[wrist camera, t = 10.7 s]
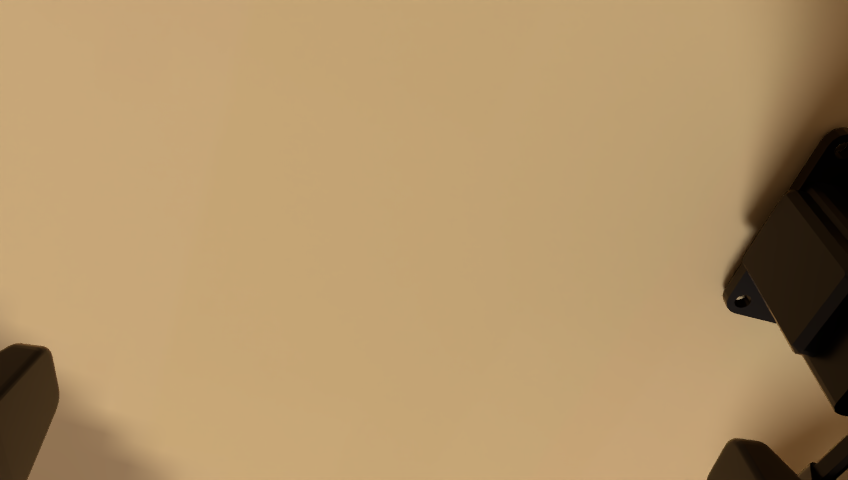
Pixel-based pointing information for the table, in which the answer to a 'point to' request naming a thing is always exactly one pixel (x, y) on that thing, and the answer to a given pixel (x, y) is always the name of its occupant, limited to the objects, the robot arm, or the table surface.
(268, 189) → the table surface
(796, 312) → the robot arm
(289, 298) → the table surface
